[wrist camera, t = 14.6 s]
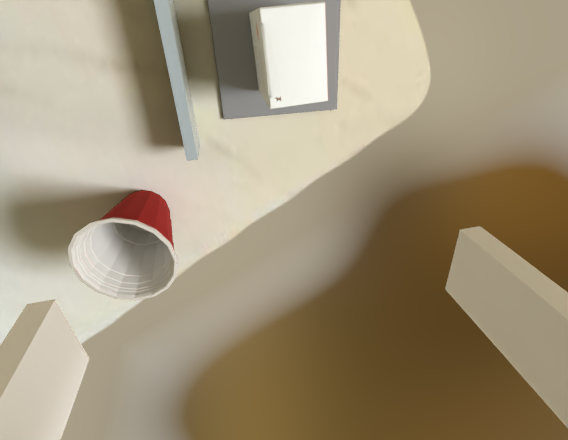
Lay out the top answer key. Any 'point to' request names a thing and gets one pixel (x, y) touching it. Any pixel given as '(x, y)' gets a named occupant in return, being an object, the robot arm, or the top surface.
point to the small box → (291, 53)
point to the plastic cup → (127, 249)
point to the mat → (241, 60)
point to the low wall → (178, 76)
